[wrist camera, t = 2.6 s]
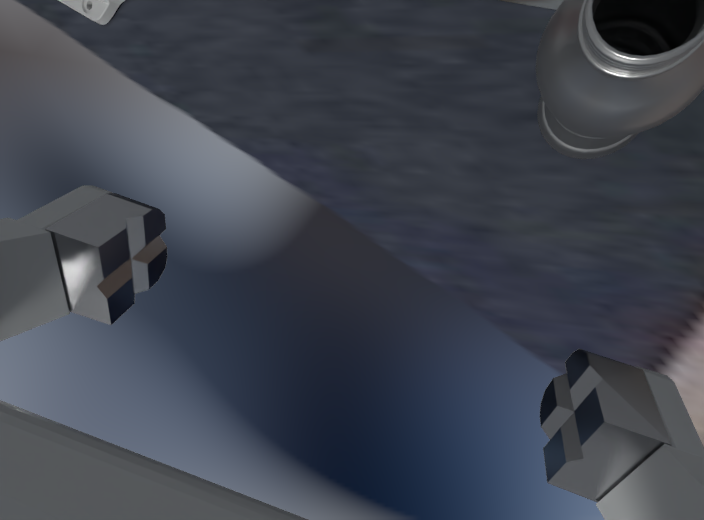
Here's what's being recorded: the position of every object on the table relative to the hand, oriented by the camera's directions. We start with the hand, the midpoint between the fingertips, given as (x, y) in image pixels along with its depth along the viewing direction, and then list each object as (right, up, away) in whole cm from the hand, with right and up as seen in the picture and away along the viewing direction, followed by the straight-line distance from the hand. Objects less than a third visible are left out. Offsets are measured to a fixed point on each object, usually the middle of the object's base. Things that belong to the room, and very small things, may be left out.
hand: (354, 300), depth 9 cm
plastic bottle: (+16, +11, +22) cm, 30 cm away
